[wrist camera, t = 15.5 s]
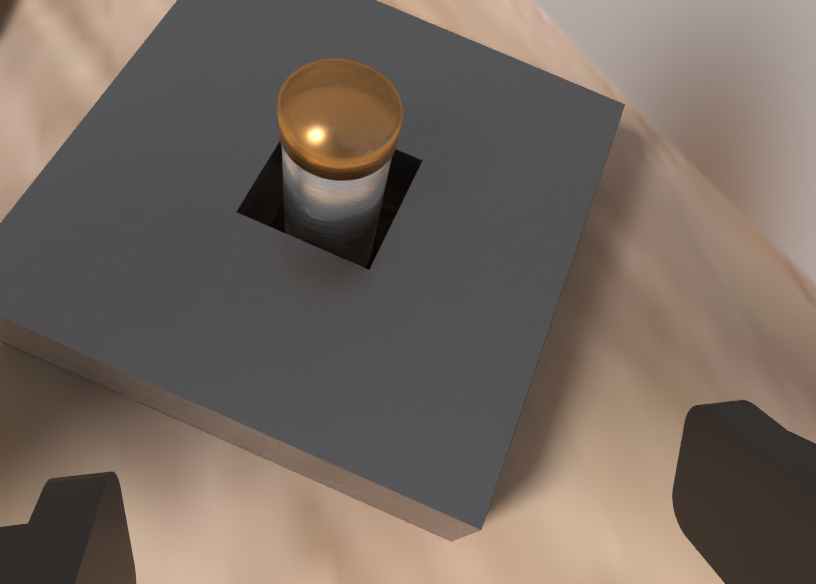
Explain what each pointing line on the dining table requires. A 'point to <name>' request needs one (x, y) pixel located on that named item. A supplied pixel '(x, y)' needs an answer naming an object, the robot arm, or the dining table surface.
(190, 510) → the dining table surface
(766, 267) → the dining table surface
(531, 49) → the dining table surface
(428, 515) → the block
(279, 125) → the pin
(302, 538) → the dining table surface
